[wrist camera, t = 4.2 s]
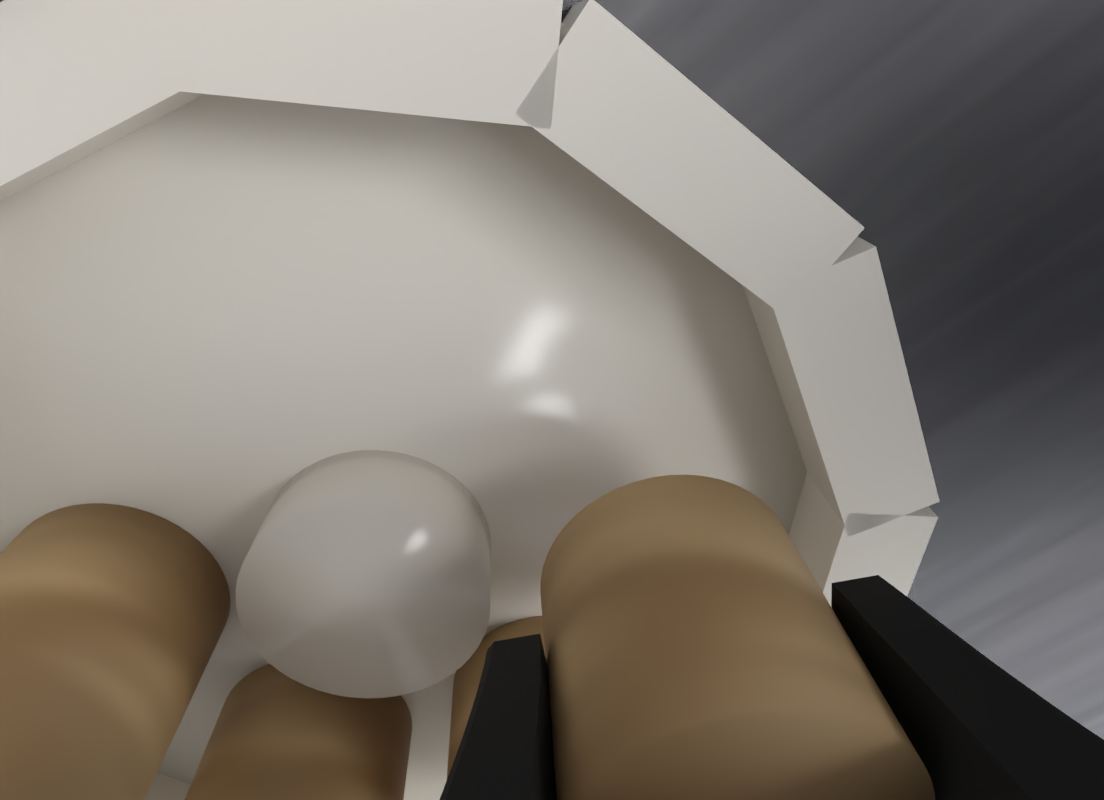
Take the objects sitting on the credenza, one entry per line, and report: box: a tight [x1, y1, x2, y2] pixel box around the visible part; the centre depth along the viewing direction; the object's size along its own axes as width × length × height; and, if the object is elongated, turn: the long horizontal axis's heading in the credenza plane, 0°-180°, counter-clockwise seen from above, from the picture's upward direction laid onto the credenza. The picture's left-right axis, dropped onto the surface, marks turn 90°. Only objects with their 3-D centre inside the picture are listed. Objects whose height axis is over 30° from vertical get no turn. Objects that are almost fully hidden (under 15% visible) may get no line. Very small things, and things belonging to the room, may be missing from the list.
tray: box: [0, 0, 940, 800], centre depth 13 cm, size 18×18×2 cm
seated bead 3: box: [447, 616, 545, 778], centre depth 13 cm, size 4×4×4 cm
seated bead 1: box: [0, 503, 230, 800], centre depth 12 cm, size 4×4×4 cm
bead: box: [540, 474, 935, 800], centre depth 9 cm, size 4×4×4 cm
